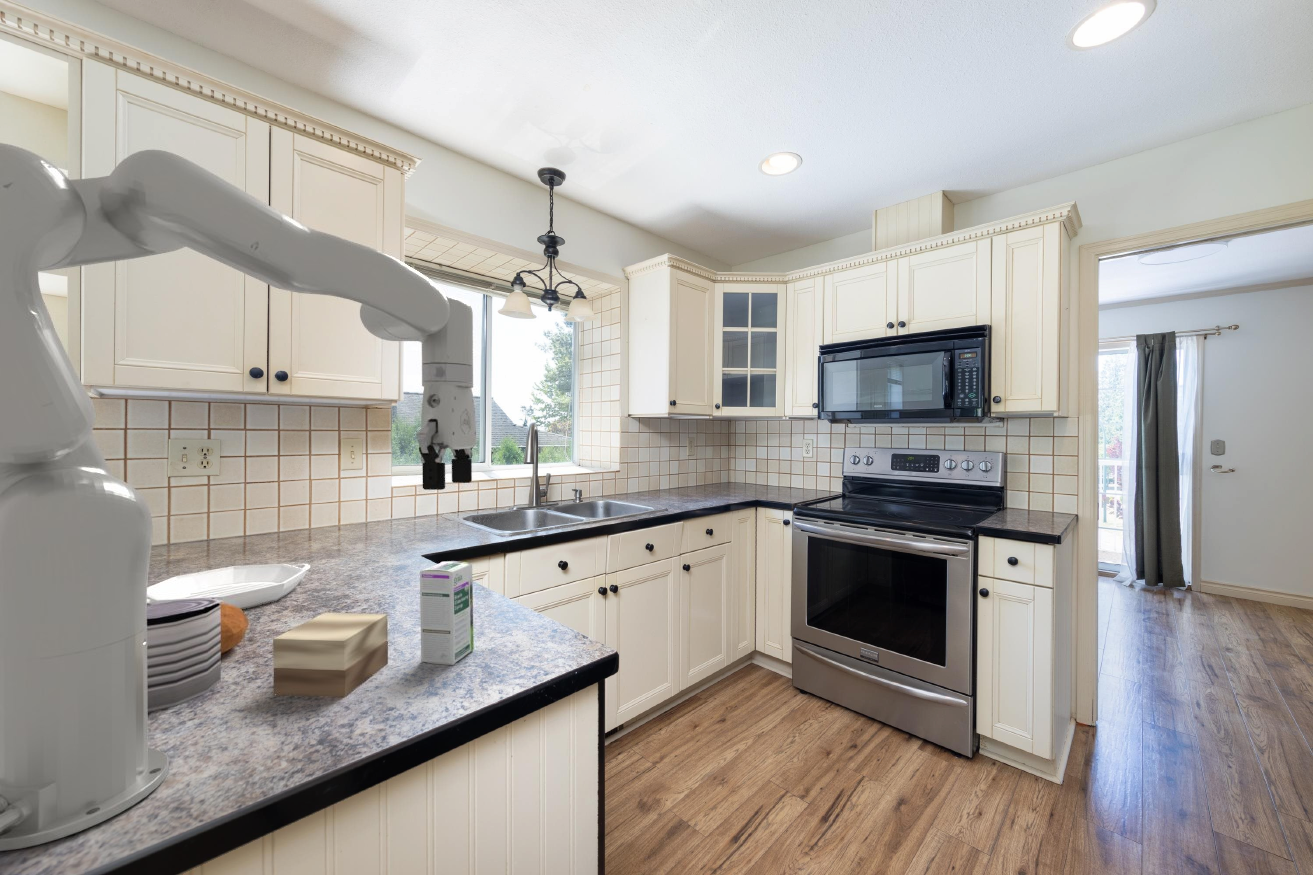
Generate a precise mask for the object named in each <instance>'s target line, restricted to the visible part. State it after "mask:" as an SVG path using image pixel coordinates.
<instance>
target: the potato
mask: <svg viewBox="0 0 1313 875" xmlns="http://www.w3.org/2000/svg"><path fill="white" fill-rule="evenodd" d="M219 604H220V612H221V655H222V654H224V653H225V652H227V651H228V650H230V649H232V648H234V647H236V646H237V645H239V644H240V643H242V640H243V639H244V637H245V635H246V632H247V630H248V628H249V620H248V617H247V615H246V614H245V612H244V611H243V610H241V609H239V608H237V607H236V606H233V605H229V604H225V603H219Z"/></svg>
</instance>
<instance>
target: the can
mask: <svg viewBox="0 0 1313 875" xmlns="http://www.w3.org/2000/svg"><path fill="white" fill-rule="evenodd" d="M222 601H223V600H219V599H216V598H202V599H190V600H178V601H171V602H166V603H160V604H155V605H150V604H148V605H147V679H148V713H150V712H155V711H159V710H164V709H168V708H174V707H177V706H179V705H181V704H185V703H187V702H189V701H192V700H194V699H197V698H199V697H201V696H204V695H206V694H208V693H209V692H211V690H213V689H214V688H215V687H216V686H217V685H219V684H220V683H221V681H222V678H221V676H222V674H221V673H222V669H221V668H222V666H221V665H222V661H221V659H222V657H221V656H222V654H221V612H220V604H219V602H222Z"/></svg>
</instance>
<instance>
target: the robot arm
mask: <svg viewBox="0 0 1313 875" xmlns="http://www.w3.org/2000/svg"><path fill="white" fill-rule="evenodd" d="M183 248H188V249H190V250H193V251H195V252H197V253H199V254H201V255H204V256H206V257H209V258H210V259H212V260H214V261H217V262H219V263H220V264H224V265H225V266H227V267H230V268H232V269H234V270H236V271H239V272H240V273H243V274H246V275H247V276H248V277H249V276H250V277H251V278H255V279H256V280H259V281H260V282H262V283H264V284H267V285H269V286H271V287H273V288H276V289H280V290H282V291H283V290H284V291H289V292H293V293H298V294H304V295H305V294H308V295H322V296H323V295H324V296H330V297H336V298H341V299H344V300H345V299H346V300H349V301H353V302H355V303H359V304H361V305H360V306H359V307H360V308H359V317H360V321H361V324H362V326H363V327H364V328H365V329H366V330H367V331H368V332H369V333H370V334H371V335H373V336H375V337H376V338H378V339H381V340H385V341H390V342H419V343H421V387H423V390H422V391H423V393H422V401H421V403H422V404H421V415H420V417H421V418H420V419H421V420H420V423H421V424H420V430H419V431H418V432H417V434H416V439H417V443H418V446H419V448H418V452H419V454H420V462H421V463H422V464H421V466H422V468H421V470H422V489H423V490H426V491H427V490H428V491H431V490H434V491H435V490H437V491H442V490H445V489H446V462H443V460H444V457H445V455H446V452H447V449H450V450H451V453H452V455H453V458H451V482H452V483H455V484H462V483H463V484H466V483H468V484H469V483H472V480H473V477H472V476H473V474H472V473H473V471H472V470H473V468H472V467H473V465H472V461H473V460H472V458H473V451H472V450H473V448H474V447H475V446H476V444H477V426H476V424H477V423H476V410H475V409H476V408H475V402H474V401H475V400H474V395H473V388H474V346H473V345H474V332H473V331H474V327H473V326H474V324H473V323H474V322H473V321H474V320H473V319H474V316H473V315H474V314H473V308H472V306H471V304H470V303H469V302H468V301H466V300H464V299H462V298H458V297H454V296H446V295H445V293H444V292H443V290H442V289H441V288H440V287H439V286H438V285H437V284H436V283H435V282H434V281H433V280H431V279H429V277H427V276H425V275H424V274H422V273H421V272H419V271H417V270H416V269H414V268H412V267H410V266H409V265H407V264H405V263H404V262H403V261H400V260H399V259H396V258H395V257H393V256H391V255H388V254H386V253H384V252H382V251H380V250H377V249H374V248H372V247H369V246H366V245H363V244H362V243H361V244H360V243H358V242H353V241H351V240H348V239H345V238H342V237H339V236H336V235H333V234H331V233H327V232H323V231H319V230H316V229H314V228H311V227H310V226H309V227H308V226H307V225H305V224H303V223H301V222H299V221H297V220H295V219H294V218H292V217H291V216H288V215H287V214H285V213H283V212H282V211H280V210H277V209H276V208H274V207H272V206H271V205H268V204H266V202H263V201H262V200H261V199H258V198H257V197H255V196H253V195H251V194H249V193H248V192H246V191H244V190H242V189H241V188H239V187H238V186H236V185H234V184H232V183H230V182H228V181H227V180H225V179H223V178H221V177H219V175H217V174H214V173H213V172H211V171H209V170H207V169H206V168H204V167H202V166H200V165H199V164H196V163H194V162H193V161H191V160H189V159H187V158H185V157H184V156H183V157H182V156H180V155H178V154H175V153H173V152H169V151H166V150H161V149H146V150H145V149H144V150H139V151H136V152H133V153H132V154H130V155H128V156H127V157H126V158H124V159H122V161H120V162H119V163H118V164H117V166H116V167H114V169H113V170H112V171H111V173H110V174H109V175H106V176H99V177H91V178H90V177H89V178H78V179H70V178H69V177H67V176H66V174H65V173H64V172H63V171H61V170H60V169H59V168H58V167H56V166H55V165H54V164H53V163H52V162H50V161H48V160H47V159H46V158H44V157H42V156H40V155H38V154H36V153H34V152H32V151H30V150H27V149H25V148H23V147H19V146H16V145H12V144H8V143H2V142H0V852H3V851H5V852H6V851H11V850H19V849H25V848H29V847H34V846H38V845H42V844H46V843H50V842H52V841H55V840H59V839H62V838H66V837H68V836H71V835H73V834H77V833H79V832H82V831H84V830H87V829H89V828H91V827H93V826H96V825H99V824H101V823H102V822H104V821H107V820H109V819H111V818H113V817H114V816H117V815H119V814H120V813H122V812H124V811H125V810H127V809H129V808H131V807H133V806H135V805H136V804H137V803H139V802H140V801H142V800H143V799H145V798H146V797H147V796H148V795H150V794H151V793H152V792H153V791H154V790H156V789H157V788H158V787H159V786H160V785H161V783H162V782H164V780H165V779H166V777H167V775H168V773H169V767H170V761H169V756H168V755H167V754H166V753H165V752H164V751H161V750H159V749H155V748H154V749H153V748H149V738H148V736H149V731H148V730H149V728H148V727H149V719H148V717H149V715H148V713H149V712H148V679H147V606H148V604H147V587H148V581H149V578H148V577H149V568H150V559H151V552H152V543H153V518H152V515H151V511H150V507H149V505H148V503H147V502H146V500H145V498H144V497H143V495H142V494H141V493H140V492H139V491H138V490H137V489H136V488H135V487H133V486H132V485H131V484H129V483H128V482H125V481H124V480H122V479H120V478H118V477H115V476H113V474H112V472H111V469H110V467H109V465H108V463H107V461H106V459H105V457H104V455H103V453H102V451H101V449H100V447H99V444H98V442H97V440H96V437H95V435H94V434H93V430H94V427H95V425H96V417H97V414H96V413H97V412H96V409H95V404H94V401H93V400H92V398H91V397H90V394H89V393H88V391H87V389H86V388H85V386H84V385H83V383H82V381H81V379H80V378H79V376H78V373H77V372H76V370H75V368H74V366H73V364H72V361H71V360H70V358H69V355H68V353H67V351H66V349H65V347H64V345H63V343H62V341H61V339H60V337H59V335H58V333H57V331H56V329H55V324H54V323H53V320H52V318H51V315H50V313H49V311H48V310H49V309H48V308H47V305H46V302H45V301H44V298H43V294H42V293H41V288H40V287H41V286H40V281H39V280H40V279H39V272H44V271H45V272H46V271H54V270H61V269H69V268H76V267H84V266H88V265H89V266H90V265H98V264H103V263H111V262H118V261H126V260H135V259H139V258H145V257H151V256H155V255H161V254H166V253H167V254H168V253H171V252H174V251H178V250H182V249H183Z"/></svg>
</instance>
